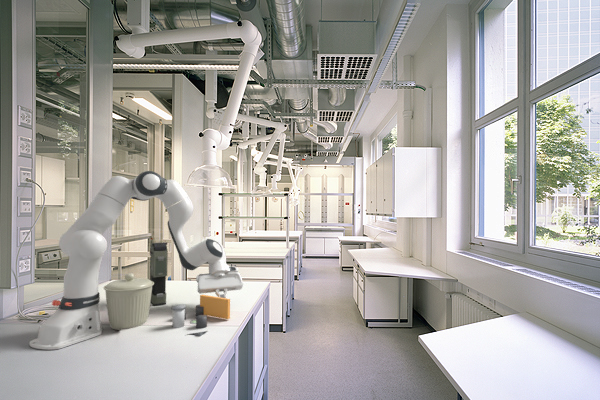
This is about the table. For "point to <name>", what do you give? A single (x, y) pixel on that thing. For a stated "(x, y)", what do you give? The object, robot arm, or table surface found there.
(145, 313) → the canister
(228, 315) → the tan wooden plank
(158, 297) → the device
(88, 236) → the robot arm
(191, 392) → the table surface
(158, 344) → the table surface
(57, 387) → the table surface
